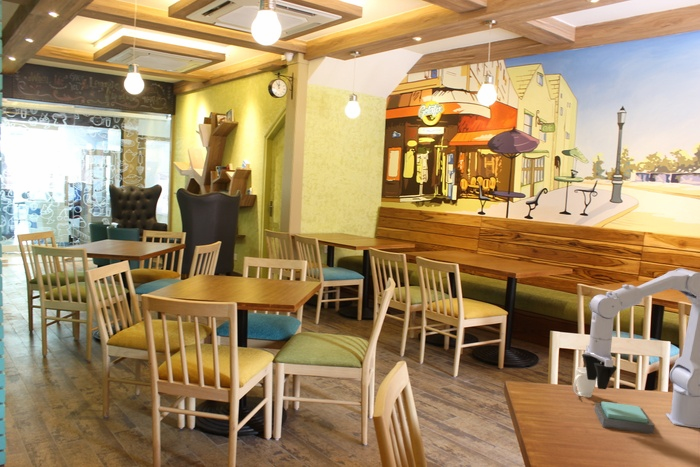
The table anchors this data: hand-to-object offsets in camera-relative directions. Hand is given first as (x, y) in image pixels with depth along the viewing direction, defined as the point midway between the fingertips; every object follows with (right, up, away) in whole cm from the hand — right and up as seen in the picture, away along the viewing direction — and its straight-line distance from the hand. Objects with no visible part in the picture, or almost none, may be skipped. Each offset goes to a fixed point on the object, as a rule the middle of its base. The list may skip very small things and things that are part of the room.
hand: (596, 384), depth 165 cm
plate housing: (+7, -10, -1) cm, 12 cm away
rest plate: (+7, -8, -2) cm, 11 cm away
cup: (+3, -9, +19) cm, 21 cm away
